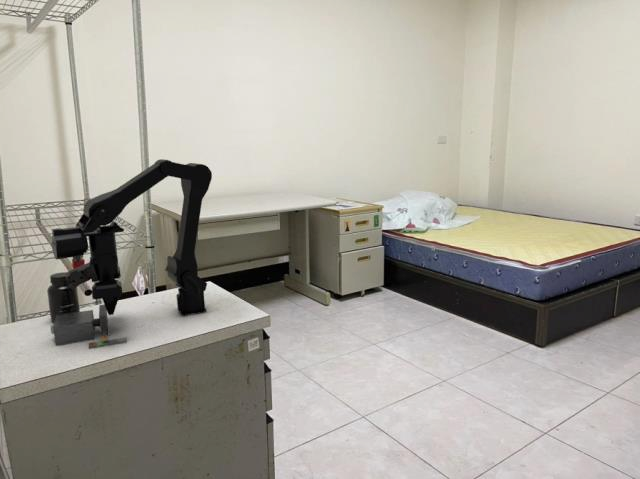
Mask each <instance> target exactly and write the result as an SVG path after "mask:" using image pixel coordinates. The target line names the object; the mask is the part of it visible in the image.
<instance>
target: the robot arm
mask: <svg viewBox="0 0 640 479" xmlns="http://www.w3.org/2000/svg"><path fill="white" fill-rule="evenodd" d="M168 177H172V178H177V179H180V186H181V191H182V195H183V201H182V208H181V214H180V215H181V216H180V221H179V222H180V224H179V231H178V238H177V245H176V250H175V252H174V254H173V255H167V258H166V259H167V264H166V267H165V269H164V271H166V272H167V273H166V274H167V277H168V278H169V280H170V281H171V282H173V283H175V285H176V287H177V291H178V292H177V294H176V307H177V310H178V312H179V313H180V315H181V316H183V317H184V316H189V315H190V316H191V315H196V314H201V313H202V314H203V313H207V308H206V306H205V305H206V304H205V291H206V290H207V287H208V283H207V281H205V280H203V279H202V278H201V277H200V276H199V269H198V262H197V257H196V254H195V253H196V245H197V240H198V239H197V238H198V231H199V226H200V217H201V211H202V210H201V209H202V204H203V199H204V198H205V196H206V194H207V192H208V191H209V189H210V185H211V182H212V180H213V179H212V177H213V174H212V170H211V169H210V167H209V166H207V165H205V164H201V163H195V162H188V163H186V164H184V163H178V162H174V161H171V160H169V159H163V158H162V159H158V160H156V161H155V162H154V163H153V164H152V165H150V166H149V167H148V168H146V169H144V170H142V171H141V172H140V173H138V174H136V175H135V176H133V177H132V178H131V179H129V180H128V181H126V182H125V183H123V184H122V185H120V186H119V187H117V188H115V189H113V190H110V191H107V192H105V193H104V192H103V193H101V194H98V195H97V196H95V197H93V198H90V199H89V200H87V201H86V202H85V203H84V204H83V208H82V212H83V213H82V215H81V216H80V218H79V219H78V221H77V223H76V224H75V226H74V227H65V228H64V227H63V228H52V229H51V233H52V235H51V240H52V241H51V242H50V243H51V244H50V245H51V249H52V253H53V257H54V259H55V260H62V259H63V260H64V259H67V258H68V259H69V258H75V257H83V256H84V255H85V253H87V251H88V250H89V252H90V257H89V262H87V263H84V264H81V265H79V266H78V267H75V268H73V269H70V270H69V271H67V273H66V276H65V277H66V279H67V280H68V284H70V286H71V287H72V288H75V287H77V288H78V287H79V286H80V285H82V284H84V283H86V282H89V281H91V282H92V283H94V284H93V285H92V286H91V295H92V296H91V298H92V300H100V299H101V300H102V302H103V305H104V304H105V307H106V310H107V316H111V315H112V316H113V315H114V314H115V311H116V308H117V305H118V301H119V299H120V297H121V296H123V295H124V293H123V286H122V285H123V284H122V281H120V280H118V279H120V278H121V277H122V275H121V268H120V266H119V258H118V256H119V255H118V249H117V241H116V240H117V239H116V233H123V232H124V231H125V229H124V228H123V227H121V226H120V225H119V224H118V223H117V222H116V221H115V219H117V217H118V216H120V214H122V212H123V211H124V209H125V208H126V207H127V206H128V205H129V204H130V203H131V202H132V201H134V200H135V199H137V198H138V197H140V196H141V195H143V194H144V193H146V192H147V191H148V190H151V189H152V188H154V186H156V185H157V184H159V183H160V182H162V181H163V180H165V179H166V178H168Z"/></svg>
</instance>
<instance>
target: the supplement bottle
mask: <svg viewBox="0 0 640 479" xmlns="http://www.w3.org/2000/svg"><path fill="white" fill-rule="evenodd" d="M67 272H68V271H67ZM67 272H65V271H63V272H62V271H61V272H56V273H53V274H51V275H50V276H49V277H50V281H49V282H50V285H49V286H48V288H47V299H48V301H47V302H48V306H49V308H48V309H49V316H50V320H51V322H53V323H54V322H55V318H56V315H60V314H67V313H74V312H81V311H80V309H81V308H80V301H79V293H78V287H75V288H72V287H71V286H70V284H68V280H67V279H66V277H65V276H66V273H67Z"/></svg>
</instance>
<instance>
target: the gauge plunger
mask: <svg viewBox="0 0 640 479" xmlns="http://www.w3.org/2000/svg"><path fill="white" fill-rule="evenodd" d="M92 321H93V328H94V327H95V328H98V327H99V328H100V329H99V330H100V335H101V337H102V339H101V340H102V341H106V340H108V339H107V336H109V316H108V312H107V310H106V307H105V304H104V303H103V304H99V306H98V318H94V319H93V320H92ZM53 325H54V324H53ZM53 325H52V324H51V325H50V332H51V335H54V331H53Z"/></svg>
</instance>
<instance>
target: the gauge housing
mask: <svg viewBox="0 0 640 479" xmlns="http://www.w3.org/2000/svg"><path fill="white" fill-rule="evenodd" d="M93 319H95V315H94V309H89V310H83V311H80V312H74V313H67V314H60V315H56V318H55V322H53V331H54V334H53V336H54V338H53V339H54V343H55V344H54V345H55V346H56V347H57V346H62V345H69V344H73V343H82V342H87V341H93V340H95V330H96V327H94V328H93V321H92V320H93ZM127 339H128V338H127V336H126V337H120V338H113V339H107V340H106V341H103V340H99V341H98V340H97V341H93V342H88V349H89V350H91V349H97V348H102V347H109V346H113V345H121V344H125V343H128V340H127Z"/></svg>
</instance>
